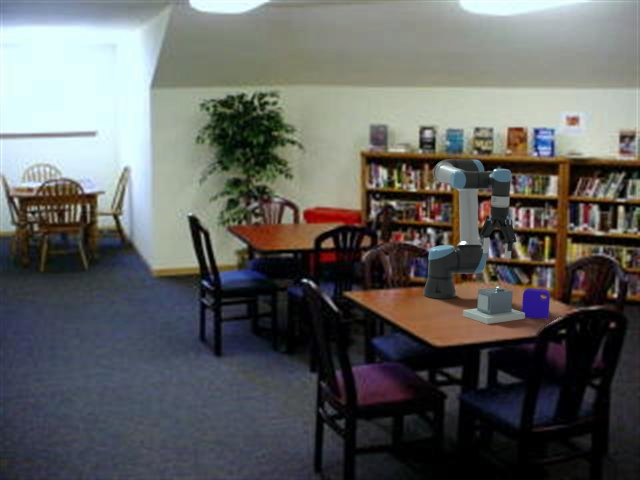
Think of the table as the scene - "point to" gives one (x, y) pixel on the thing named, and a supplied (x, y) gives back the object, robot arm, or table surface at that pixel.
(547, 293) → the bracket
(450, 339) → the table surface
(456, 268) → the robot arm
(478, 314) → the tray
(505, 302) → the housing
